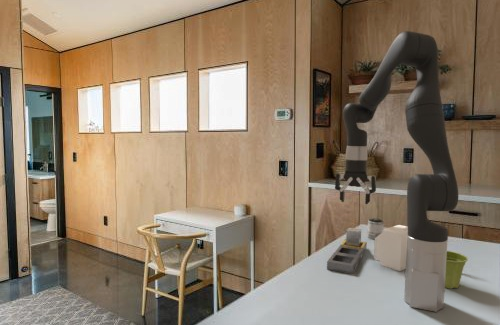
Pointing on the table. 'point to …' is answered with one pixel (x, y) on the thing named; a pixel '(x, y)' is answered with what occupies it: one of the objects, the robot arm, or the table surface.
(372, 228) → the camera lens
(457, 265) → the plant pot
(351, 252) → the rail
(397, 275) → the table surface
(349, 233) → the pale grey square box
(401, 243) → the white angular block
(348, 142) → the robot arm
